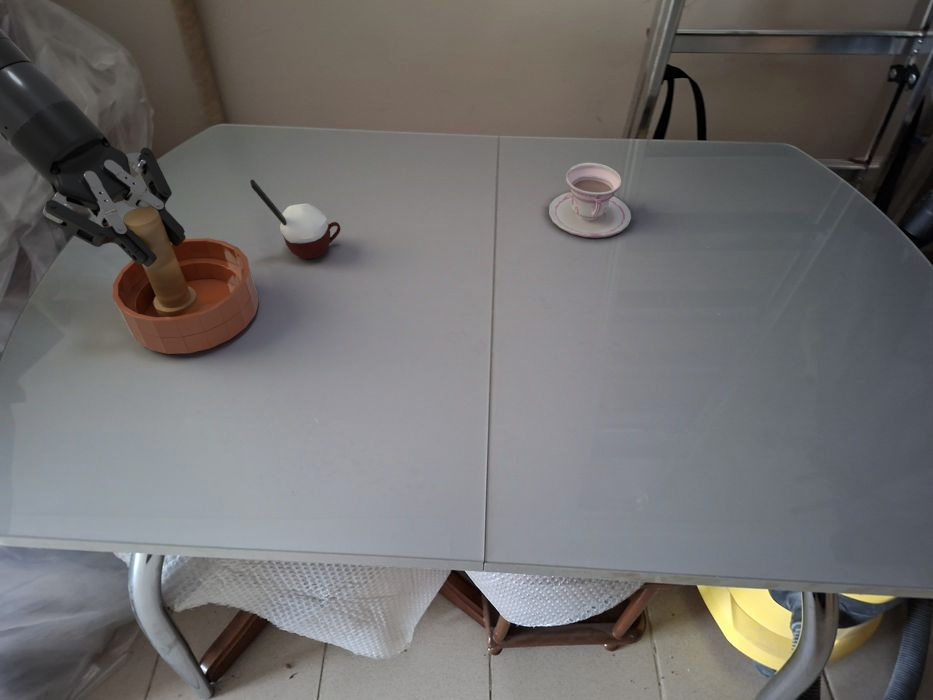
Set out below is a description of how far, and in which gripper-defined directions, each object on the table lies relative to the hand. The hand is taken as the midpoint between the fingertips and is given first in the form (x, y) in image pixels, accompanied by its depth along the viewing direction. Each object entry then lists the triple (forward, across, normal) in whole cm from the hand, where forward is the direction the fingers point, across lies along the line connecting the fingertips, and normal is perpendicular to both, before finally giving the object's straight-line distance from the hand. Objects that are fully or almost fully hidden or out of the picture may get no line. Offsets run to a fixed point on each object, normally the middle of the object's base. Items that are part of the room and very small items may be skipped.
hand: (166, 251), depth 72 cm
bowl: (+7, +2, +9) cm, 11 cm away
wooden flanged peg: (+5, 0, +8) cm, 9 cm away
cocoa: (+10, +18, +6) cm, 22 cm away
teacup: (+32, +45, -16) cm, 57 cm away
